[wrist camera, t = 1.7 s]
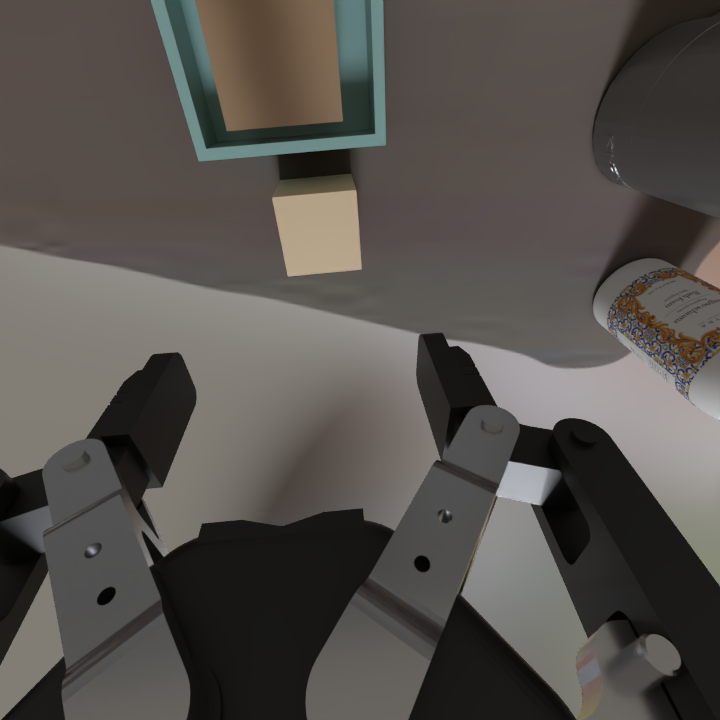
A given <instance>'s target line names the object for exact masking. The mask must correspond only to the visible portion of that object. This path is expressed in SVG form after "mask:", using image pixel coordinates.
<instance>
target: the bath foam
mask: <svg viewBox="0 0 720 720" xmlns="http://www.w3.org/2000/svg"><path fill="white" fill-rule="evenodd" d="M593 312H594V316H595V318H596V320H597V321H598V322H599V323H600V324H601V325H602V326H603V327H604V328H606V329H607V330H608V331H609V332H610V333H611V334H612V335H613V336H615V337H616V338H617V339H618V340H619V341H620V342H621V343H623V344H624V345H625V346H626V347H627V348H628V349H630V350H631V351H632V352H633V353H634V354H635V355H637V356H638V357H639V358H640V359H641V360H643V361H644V362H645V363H646V364H647V365H648V366H650V368H652V369H653V370H654V371H655V372H656V373H657V374H659V375H660V376H661V377H662V378H663V379H664V380H666V381H667V382H668V383H669V384H670V385H671V386H672V387H674V388H675V389H676V390H677V391H678V392H680V393H681V394H682V395H683V396H684V397H685V398H686V399H688V400H689V401H690V402H691V403H692V404H693V405H695V406H697V407H698V408H699V409H701V410H702V411H704V412H705V413H707V414H709V415H710V416H712V417H714V418H716V419H718V420H720V289H719V288H717V287H715V286H713V285H711V284H709V283H707V282H705V281H703V280H701V279H699V278H697V277H695V276H693V275H692V274H690V273H688V272H686V271H684V270H682V269H679V268H677V267H675V266H674V265H672V264H670V263H668V262H666V261H663V260H660V259H656V258H645V259H640V260H636V261H633V262H631V263H628V264H626V265H624V266H623V267H621V268H619V269H618V270H616V271H615V272H614V273H612V274H611V275H610V276H609V277H608V278H607V279H606V280H605V281H604V282H603V284H602V285H601V286H600V288H599V289H598V291H597V293H596V295H595V298H594V301H593Z"/></svg>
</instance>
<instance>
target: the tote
mask: <svg viewBox="0 0 720 720" xmlns="http://www.w3.org/2000/svg"><path fill="white" fill-rule="evenodd" d="M333 1H334V13H335V26H336V38H337V51H338V64H339V76H340V89H341V102H342V114H343V121H341V122H329V123H317V124H306V125H294V126H282V127H271V128H259V129H247V130H236V131H227V129H226V125H225V121H224V117H223V113H222V109H221V105H220V101H219V97H218V93H217V89H216V85H215V80H214V76H213V72H212V68H211V64H210V60H209V56H208V52H207V48H206V44H205V40H204V36H203V32H202V28H201V23H200V19H199V15H198V11H197V7H196V3H195V0H151V3H152V6H153V9H154V13H155V16H156V19H157V23H158V26H159V29H160V33H161V36H162V39H163V43H164V46H165V49H166V53H167V56H168V60H169V63H170V66H171V70H172V73H173V76H174V80H175V83H176V86H177V90H178V93H179V96H180V100H181V103H182V106H183V110H184V113H185V116H186V120H187V123H188V126H189V130H190V133H191V137H192V140H193V143H194V147H195V150H196V153H197V157H198V160H199V161H209V160H221V159H232V158H244V157H255V156H266V155H278V154H289V153H301V152H312V151H323V150H335V149H346V148H357V147H369V146H380V145H386V125H385V74H384V23H383V0H333Z"/></svg>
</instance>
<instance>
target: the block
mask: <svg viewBox="0 0 720 720" xmlns="http://www.w3.org/2000/svg"><path fill="white" fill-rule="evenodd" d="M195 3H196V7H197V11H198V15H199V19H200V23H201V28H202V32H203V36H204V40H205V44H206V48H207V52H208V56H209V60H210V64H211V68H212V72H213V76H214V80H215V85H216V89H217V93H218V97H219V101H220V105H221V109H222V113H223V117H224V121H225V125H226V129H227V131H236V130H247V129H259V128H271V127H282V126H294V125H306V124H317V123H329V122H341V121H343V114H342V102H341V89H340V76H339V64H338V51H337V38H336V26H335V13H334V1H333V0H195Z"/></svg>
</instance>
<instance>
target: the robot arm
mask: <svg viewBox="0 0 720 720" xmlns="http://www.w3.org/2000/svg"><path fill="white" fill-rule="evenodd" d="M593 153H594V157H595V160H596V164H597V166H598V167H599V169H600V171H601V172H602V174H603V175H604V176H606V177H607V178H608V179H609V180H610V181H612V182H615V183H617V184H620V185H622V186H625V187H627V188H629V189H634V190H637V191H640V192H643V193H646V194H649V195H652V196H654V197H657V198H660V199H663V200H666V201H669V202H672V203H675V204H678V205H681V206H684V207H687V208H689V209H692V210H695V211H698V212H701V213H704V214H707V215H710V216H713V217H716V218H719V219H720V11H719V12H717V13H716V14H715V15H713V16H712V17H708V18H702V19H696V20H690V21H686V22H683V23H680V24H678V25H675V26H672V27H670V28H668V29H666V30H665V31H663V32H661V33H660V34H658V35H656V36H655V37H653V38H652V39H651V40H650V41H648V42H647V43H646V44H645V45H644V46H642V47H641V48H640V49H639V50H638V51H637V52H636V53H635V54H634V55H633V56H632V57H631V58H630V59H629V61H628V62H627V63H626V64H625V65H624V66H623V67H622V69H621V70H620V72H619V73H618V75H617V76H616V77H615V79H614V80H613V82H612V83H611V85H610V87H609V89H608V91H607V93H606V95H605V97H604V99H603V101H602V103H601V106H600V109H599V112H598V114H597V117H596V120H595V127H594V133H593ZM416 376H417V384H418V388H419V391H420V395H421V398H422V401H423V404H424V407H425V411H426V414H427V417H428V420H429V423H430V426H431V430H432V433H433V436H434V439H435V443H436V446H437V449H438V452H439V455H440V459H441V461H439V460H436V461H435V462H434V464H433V465H432V467H431V469H430V471H429V472H428V474H427V476H426V477H425V479H424V481H423V483H422V484H421V486H420V488H419V490H418V491H417V493H416V495H415V497H414V498H413V500H412V502H411V504H410V505H409V507H408V509H407V511H406V512H405V514H404V516H403V518H402V520H401V521H400V523H399V525H398V526H397V528H396V530H395V531H394V530H392V529H390V528H388V527H386V526H384V525H382V524H378V523H375V522H371V521H366V520H364V516H363V509H351V510H341V511H331V512H323V513H320V514H317V515H314V516H311V517H308V518H305V519H303V520H300V521H297V522H294V523H291V524H288V525H285V526H276V525H270V524H264V523H258V522H251V521H245V520H236V521H226V522H215V523H205V524H202V526H201V529H200V533H199V537H198V538H196V539H193V540H191V541H189V542H187V543H184V544H183V545H181V546H179V547H177V548H176V549H174V550H173V551H171V552H170V553H169V552H168V550H167V548H166V546H165V544H164V542H163V540H162V537H161V535H160V533H159V531H158V529H157V527H156V524H155V522H154V520H153V518H152V515H151V514H150V511H149V509H148V507H147V505H146V502H145V501H144V499H143V498H142V497H143V494H144V492H145V490H146V489H149V488H158V487H159V488H160V487H163V484H164V482H165V480H166V477H167V475H168V472H169V470H170V467H171V465H172V462H173V460H174V457H175V454H176V452H177V450H178V447H179V445H180V442H181V440H182V437H183V435H184V432H185V429H186V427H187V425H188V422H189V420H190V417H191V414H192V412H193V410H194V407H195V404H196V389H195V386H194V384H193V381H192V379H191V376H190V374H189V372H188V369H187V367H186V365H185V363H184V360H183V358H182V356H181V354H179V353H163V354H153V355H152V356H151V357H150V359H149V360H148V362H147V363H146V365H145V366H144V368H143V370H138V371H137V372H135V373H134V374H133V375H132V376H130V377H129V378H128V379H127V380H126V381H124V383H123V384H122V386H121V387H120V389H119V390H118V392H117V395H115V396H114V398H113V399H112V401H111V402H110V405H108V407H107V408H106V409H105V411H104V412H103V414H102V416H101V417H100V418H99V420H98V422H97V423H96V424H95V426H94V427H93V429H92V430H91V432H90V433H89V435H88V436H87V438H86V439H84V440H80V441H76V442H74V443H71V444H69V445H67V446H66V447H64V448H62V449H61V450H59V451H58V452H56V453H55V454H54V455H53V456H52V457H51V458H50V459H49V460H48V461H47V463H46V464H45V466H44V468H43V469H40V470H36V471H33V472H30V473H27V474H24V475H21V476H17V477H14V478H10V477H9V476H8V475H7V474H6V473H5V472H4V471H3V470H2V469H0V665H1V663H2V661H3V659H4V657H5V655H6V653H7V651H8V649H9V647H10V645H11V643H12V641H13V639H14V637H15V635H16V634H17V632H18V630H19V628H20V626H21V624H22V622H23V620H24V618H25V616H26V614H27V612H28V610H29V608H30V606H31V604H32V602H33V600H34V598H35V596H36V594H37V592H38V590H39V588H40V586H41V585H42V583H43V581H44V579H45V577H46V575H47V573H48V571H49V576H50V581H51V587H52V592H53V597H54V603H55V608H56V614H57V619H58V625H59V631H60V636H61V641H62V647H63V652H64V657H63V658H62V659H61V660H60V661H59V662H58V663H57V664H56V665H55V666H54V667H53V668H52V669H51V670H50V671H49V672H48V673H47V674H46V675H45V676H44V677H43V678H42V679H41V680H40V681H39V682H38V683H37V684H36V685H35V686H34V687H33V689H31V690H30V691H29V692H28V693H27V694H26V696H24V697H23V698H22V699H21V700H20V701H19V702H18V703H17V704H16V705H15V706H14V707H13V708H12V709H11V711H9V712H8V714H6V716H5V717H4V718H3V719H2V720H576V719H575V717H574V715H573V714H572V712H571V711H570V710H569V708H568V707H567V706H566V704H565V703H564V702H563V700H562V699H561V698H560V697H559V696H558V694H557V693H556V692H555V691H554V690H553V689H552V688H551V687H550V686H549V685H548V684H547V683H546V682H545V681H544V680H543V679H542V678H541V677H540V676H539V674H537V673H536V671H535V670H534V669H533V668H532V667H531V666H530V665H529V664H528V663H527V662H526V661H525V660H524V659H523V658H522V657H521V656H520V655H519V654H518V653H517V652H516V651H515V650H514V649H513V648H512V647H511V646H510V645H509V644H508V643H507V642H506V641H505V640H504V639H503V638H502V637H501V636H500V634H499V633H498V632H497V631H496V630H495V629H494V628H493V627H492V626H491V625H490V624H489V623H488V622H487V621H486V620H485V619H484V618H483V617H482V616H481V615H480V614H479V613H478V612H477V611H476V610H475V609H474V608H473V607H472V606H471V605H470V604H469V603H468V602H467V601H466V600H465V599H464V598H463V597H462V596H461V594H462V592H463V589H464V586H465V584H466V581H467V578H468V575H469V573H470V570H471V567H472V565H473V562H474V559H475V556H476V553H477V551H478V548H479V545H480V542H481V540H482V537H483V534H484V532H485V529H486V526H487V524H488V521H489V518H490V516H491V513H492V510H493V508H494V505H495V502H496V500H497V497H503V498H508V499H513V500H517V501H522V502H527V503H531V506H532V508H533V510H534V513H535V515H536V517H537V520H538V522H539V524H540V527H541V529H542V531H543V534H544V536H545V538H546V541H547V543H548V545H549V548H550V550H551V553H552V555H553V557H554V559H555V562H556V564H557V567H558V569H559V571H560V574H561V576H562V578H563V581H564V583H565V585H566V587H567V590H568V592H569V595H570V597H571V599H572V602H573V604H574V607H575V609H576V611H577V614H578V616H579V618H580V620H581V623H582V625H583V628H584V630H585V632H586V635H587V637H588V639H587V640H586V641H585V643H583V644H582V646H581V647H580V648H579V651H578V653H577V657H576V669H577V675H578V679H579V683H580V687H581V692H582V708H581V712H580V715H579V717H578V719H577V720H720V586H719V584H718V583H717V582H716V581H715V579H714V578H713V576H712V575H711V574H710V572H709V571H708V570H707V568H706V567H705V565H704V564H703V563H702V561H701V560H700V559H699V557H698V556H697V555H696V553H695V552H694V551H693V549H692V548H691V546H690V545H689V544H688V542H687V541H686V539H685V538H684V537H683V535H682V534H681V533H680V531H679V530H678V529H677V527H676V526H675V525H674V523H673V522H672V520H671V519H670V518H669V516H668V515H667V514H666V512H665V511H664V509H663V508H662V507H661V505H660V504H659V503H658V501H657V500H656V499H655V497H654V496H653V494H652V493H651V492H650V490H649V489H648V488H647V487H646V485H645V483H644V482H643V481H642V479H641V478H640V477H639V475H638V474H637V473H636V471H635V470H634V468H633V467H632V466H631V464H630V463H629V462H628V460H627V459H626V458H625V456H624V455H623V454H622V452H621V451H620V449H619V448H618V447H617V445H616V444H615V443H614V441H613V440H612V438H611V437H610V436H609V435H608V434H607V433H606V432H605V431H604V430H603V429H601V428H600V427H599V426H597V425H595V424H593V423H591V422H588V421H585V420H582V419H576V418H568V419H563V420H560V421H559V422H557V423H556V425H555V426H554V428H553V430H549V429H543V428H537V427H530V426H526V425H522V424H519V423H518V421H517V419H516V418H515V417H514V416H513V415H512V414H511V413H509V412H508V411H506V410H505V409H502V408H500V407H497V405H496V403H495V401H494V399H493V397H492V396H491V394H490V392H489V390H488V388H487V386H486V385H485V383H484V381H483V379H482V377H481V376H480V374H479V372H478V370H477V368H476V367H475V364H474V362H473V360H472V359H471V357H470V355H469V354H468V353H467V352H465V351H464V350H463V349H461V348H460V347H459V346H453V347H449V346H448V343H447V341H446V339H445V337H444V335H443V333H432V334H420V336H419V341H418V355H417V370H416Z"/></svg>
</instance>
